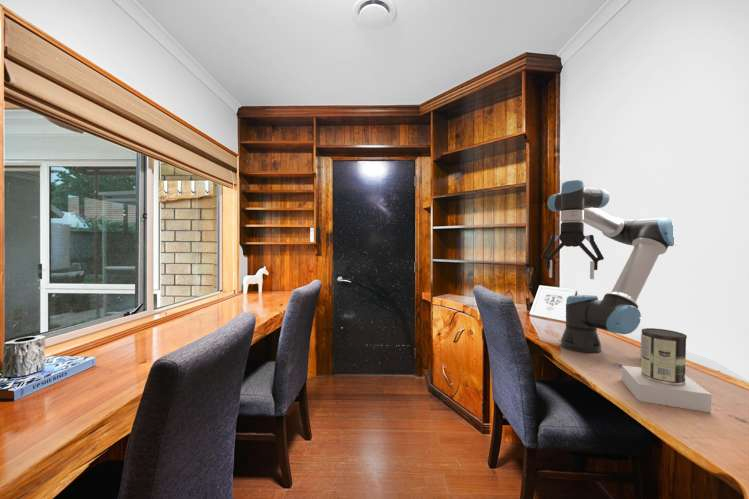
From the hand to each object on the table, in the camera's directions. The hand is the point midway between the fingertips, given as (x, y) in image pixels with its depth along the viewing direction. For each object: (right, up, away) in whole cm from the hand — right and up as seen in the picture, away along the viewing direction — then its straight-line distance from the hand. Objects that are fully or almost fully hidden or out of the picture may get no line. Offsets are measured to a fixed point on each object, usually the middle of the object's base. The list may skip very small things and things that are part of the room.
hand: (570, 278), depth 124 cm
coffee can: (+13, -29, -24) cm, 40 cm away
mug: (+34, -33, +2) cm, 47 cm away
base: (+13, -33, -24) cm, 43 cm away
